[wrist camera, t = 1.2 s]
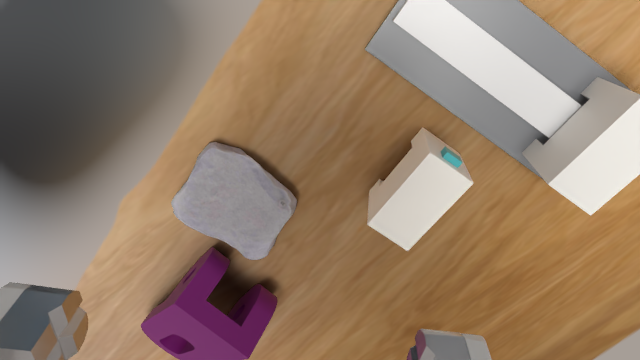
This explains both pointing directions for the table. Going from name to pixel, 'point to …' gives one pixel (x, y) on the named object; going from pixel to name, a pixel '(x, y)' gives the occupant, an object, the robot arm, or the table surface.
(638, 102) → the white grey-marked block
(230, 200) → the stone block
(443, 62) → the rail plate
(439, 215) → the block
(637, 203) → the table surface
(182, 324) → the mounting bracket
